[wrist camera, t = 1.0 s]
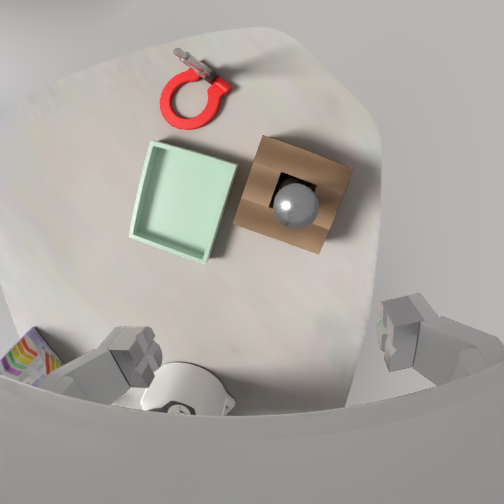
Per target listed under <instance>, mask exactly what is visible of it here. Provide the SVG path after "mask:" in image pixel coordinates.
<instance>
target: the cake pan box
mask: <svg viewBox="0 0 504 504" xmlns="http://www.w3.org/2000/svg"><path fill="white" fill-rule="evenodd" d="M63 365H64V364H63V362H62V361H61V360H60V359H59V358H58V357H57V355H56V354H55V353H54V352H53V351H52V350H51V348H50V347H49V346H48V345H47V343H46V342H45V341H44V340H43V338H42V337H41V336H40V334H39V333H38V332H37V331H36V329H35V328H34V327H32V328H31V329H30V330H29V331H28V332H27V333H26V334H25V335H24V336H23V337H22V338H21V339H20V340H19V341H18V342H17V343H16V344H14V345H13V346H12V348H10V349H9V351H8V352H7V353H6V354H5V355H4V356H3V357H2V358H1V360H0V375H3V376H5V377H8V378H11V379H13V380H16V381H19V382H22V383H25V384H28V385H31V386H34V387H38V386H39V385H40V384H41V383H42V381H43V380H44V379H45V378H46V377H47V376H48V374H49V373H50V372H52V371H54V370H56V369H58V368H59V367H61V366H63Z"/></svg>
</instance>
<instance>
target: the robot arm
mask: <svg viewBox="0 0 504 504" xmlns="http://www.w3.org/2000/svg"><path fill="white" fill-rule="evenodd" d="M378 315H379V317H380V321H379V322H378V324H377V336H378V342H379V346H380V349H381V350H382V351H384V352H385V355H384V360H385V362H386V364H387V367H388V370H389V372H391V371H396V370H401V369H405V368H410V367H413V369H415V370H416V371H418V372H419V373H420V374H422V375H423V376H424V377H426V378H427V379H429V380H430V381H431V382H433V383H434V384H436V385H437V386H436V387H432V388H429V389H425V390H422V391H419V392H415V393H411V394H407V395H403V396H399V397H395V398H391V399H387V400H382V401H377V402H373V403H367V404H362V405H356V406H350V407H344V408H337V409H330V410H322V411H314V412H304V413H293V414H279V415H258V416H225V415H226V414H227V413H228V412H229V411H230V410H231V409H232V408H233V407H234V406H235V403H236V402H235V400H234V399H233V398H232V397H231V396H230V395H229V394H227V392H226V391H225V389H224V387H223V385H222V383H221V382H220V381H219V380H218V379H217V378H216V377H215V376H214V375H213V374H211V373H210V372H208V371H207V370H205V369H203V368H200V367H198V366H195V365H192V364H188V363H169V364H166V365H163V366H162V367H160V366H161V364H162V351H161V348H160V346H159V345H158V344H157V343H156V342H155V341H154V338H155V335H154V333H153V330H152V329H151V328H150V327H148V326H142V327H126V326H125V327H115V328H114V329H113V330H112V332H111V333H110V334H109V335H108V336H107V338H106V339H105V340H104V341H103V342H102V343H101V345H100V346H99V347H98V348H97V349H93V350H91V351H90V352H88V353H86V354H84V355H82V356H80V357H78V358H76V359H75V360H73V361H71V362H69V363H67V364H65V365H63V366H61V367H59V368H58V369H56V370H54V371H52V372H50V373H49V374H48V376H47V377H46V378H45V379H44V380H43V381H42V383H41V384H40V385H39V386H38V387H34V386H31V385H28V384H25V383H22V382H19V381H16V380H13V379H11V378H8V377H5V376H3V375H0V504H504V345H503V344H502V343H501V341H500V340H499V339H498V338H497V337H495V336H492V335H490V334H487V333H485V332H482V331H480V330H477V329H474V328H472V327H469V326H467V325H464V324H462V323H459V322H456V321H454V320H451V319H449V318H446V317H443V316H442V317H438V315H437V314H436V313H435V311H434V310H433V309H432V307H431V306H430V305H429V304H428V302H427V301H426V300H425V299H424V297H423V296H422V295H421V294H420V293H416V294H412V295H408V296H405V297H401V298H396V299H391V300H386V301H382V302H379V303H378ZM130 387H139V388H146V390H145V392H144V394H143V396H142V399H141V402H140V403H141V404H142V409H143V410H137V409H130V408H124V407H117V406H112V405H110V404H112V403H113V402H114V401H115V400H116V399H118V398H119V397H120V396H121V395H123V394H124V393H125V392H126V391H127V390H129V389H130Z"/></svg>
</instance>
